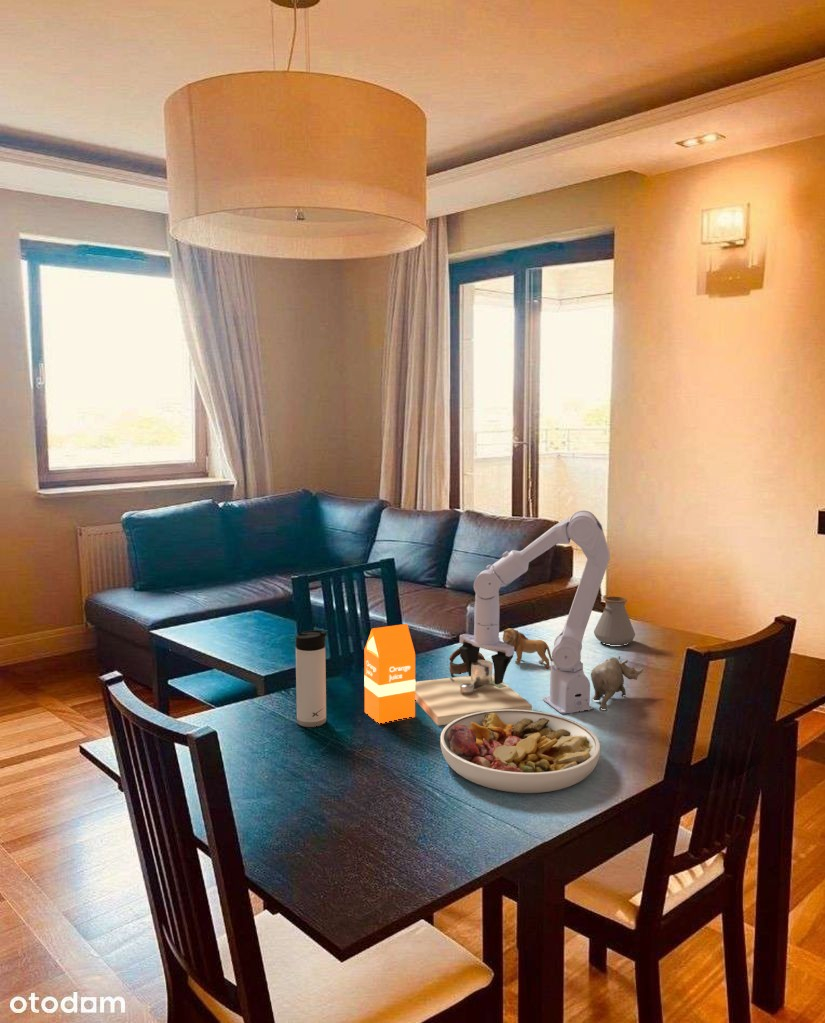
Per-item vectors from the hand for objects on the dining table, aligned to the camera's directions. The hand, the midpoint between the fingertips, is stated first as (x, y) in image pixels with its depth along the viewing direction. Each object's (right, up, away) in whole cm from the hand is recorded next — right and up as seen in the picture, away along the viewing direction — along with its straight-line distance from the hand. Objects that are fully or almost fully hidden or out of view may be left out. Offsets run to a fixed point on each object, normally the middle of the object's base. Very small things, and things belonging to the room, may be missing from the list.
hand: (485, 679), depth 188 cm
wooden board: (-4, -5, -3) cm, 7 cm away
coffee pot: (+37, +1, +40) cm, 55 cm away
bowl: (+3, -9, -33) cm, 35 cm away
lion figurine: (+13, -1, +25) cm, 28 cm away
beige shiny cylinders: (-2, -2, 0) cm, 3 cm away
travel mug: (-38, -6, -14) cm, 42 cm away
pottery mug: (-3, -2, +17) cm, 17 cm away
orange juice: (-22, -6, -10) cm, 25 cm away
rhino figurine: (+29, -5, 0) cm, 30 cm away
